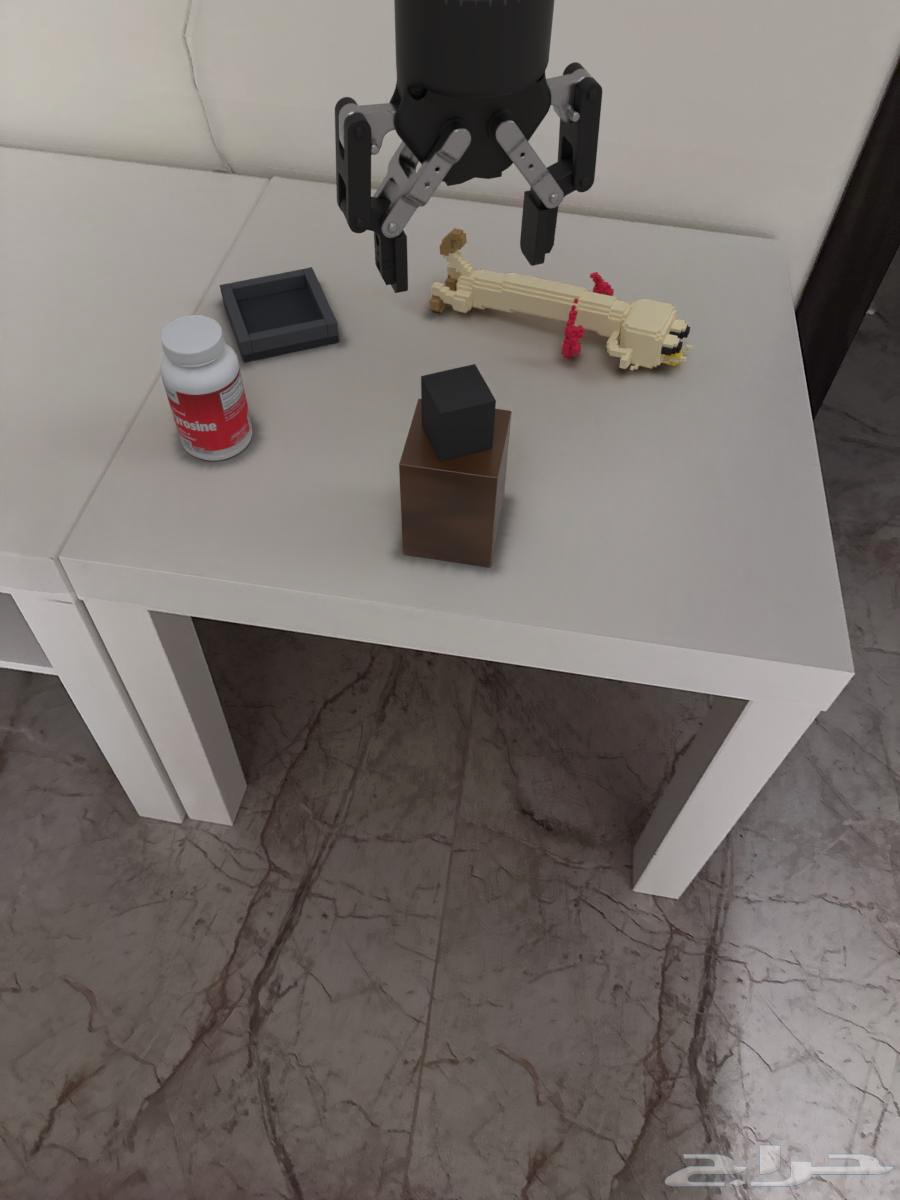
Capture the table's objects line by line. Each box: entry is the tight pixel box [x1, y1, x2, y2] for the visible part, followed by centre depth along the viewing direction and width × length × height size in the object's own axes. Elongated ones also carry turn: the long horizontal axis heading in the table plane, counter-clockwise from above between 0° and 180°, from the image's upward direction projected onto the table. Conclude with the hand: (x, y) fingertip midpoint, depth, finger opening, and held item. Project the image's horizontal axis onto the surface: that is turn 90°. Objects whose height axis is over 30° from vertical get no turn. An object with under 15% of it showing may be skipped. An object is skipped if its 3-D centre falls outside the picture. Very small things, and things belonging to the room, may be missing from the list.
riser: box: [398, 398, 513, 568], centre depth 70 cm, size 7×7×10 cm
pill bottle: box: [159, 314, 253, 462], centre depth 76 cm, size 6×6×11 cm
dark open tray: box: [219, 266, 340, 363], centre depth 89 cm, size 9×9×2 cm
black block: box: [420, 363, 497, 461], centre depth 65 cm, size 4×4×4 cm
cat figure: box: [429, 227, 693, 371], centre depth 86 cm, size 10×9×25 cm
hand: (464, 271), depth 55 cm, fingers open, 8 cm apart
